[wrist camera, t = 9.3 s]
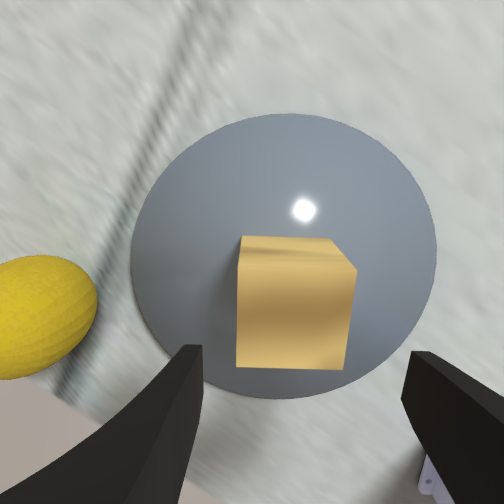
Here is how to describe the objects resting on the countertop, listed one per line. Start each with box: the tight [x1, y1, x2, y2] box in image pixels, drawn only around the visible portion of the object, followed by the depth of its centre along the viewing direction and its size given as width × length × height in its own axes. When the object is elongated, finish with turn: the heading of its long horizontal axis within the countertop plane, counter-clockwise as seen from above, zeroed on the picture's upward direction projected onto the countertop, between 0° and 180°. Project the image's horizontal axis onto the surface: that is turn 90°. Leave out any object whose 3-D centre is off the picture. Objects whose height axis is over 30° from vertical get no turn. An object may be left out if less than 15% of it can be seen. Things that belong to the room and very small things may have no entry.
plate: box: [131, 114, 437, 399], centre depth 19 cm, size 18×18×1 cm
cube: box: [236, 236, 357, 370], centre depth 16 cm, size 5×5×5 cm
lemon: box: [0, 255, 98, 380], centre depth 16 cm, size 6×6×8 cm
